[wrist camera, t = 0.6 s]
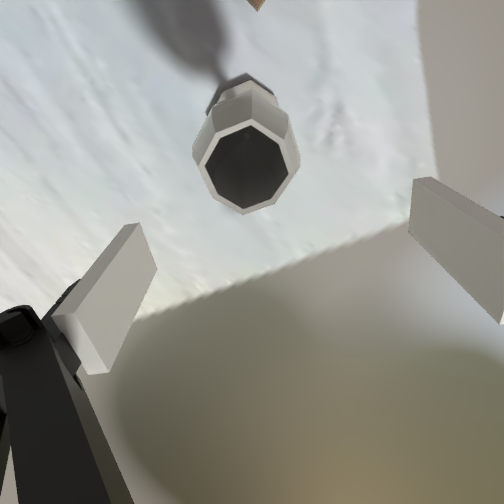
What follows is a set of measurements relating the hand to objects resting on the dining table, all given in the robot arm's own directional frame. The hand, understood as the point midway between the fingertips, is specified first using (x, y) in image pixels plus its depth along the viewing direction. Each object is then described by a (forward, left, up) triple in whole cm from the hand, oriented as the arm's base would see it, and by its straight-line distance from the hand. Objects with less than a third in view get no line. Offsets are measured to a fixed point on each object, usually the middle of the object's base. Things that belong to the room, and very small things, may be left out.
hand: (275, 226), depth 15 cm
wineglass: (-2, 0, -27) cm, 27 cm away
